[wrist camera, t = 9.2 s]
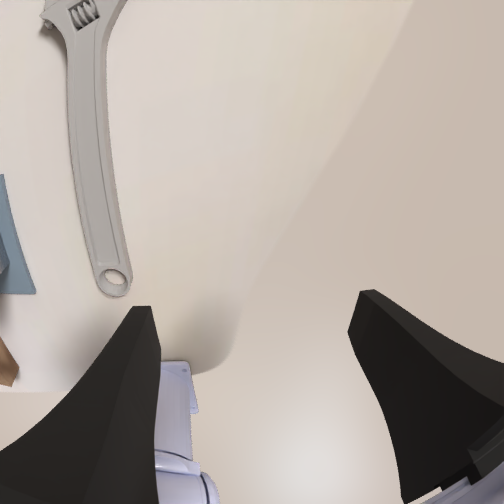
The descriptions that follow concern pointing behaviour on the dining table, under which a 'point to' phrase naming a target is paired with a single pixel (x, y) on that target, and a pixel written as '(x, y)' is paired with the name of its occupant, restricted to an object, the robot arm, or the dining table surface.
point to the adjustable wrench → (92, 131)
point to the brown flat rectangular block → (7, 366)
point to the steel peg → (3, 256)
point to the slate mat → (12, 252)
